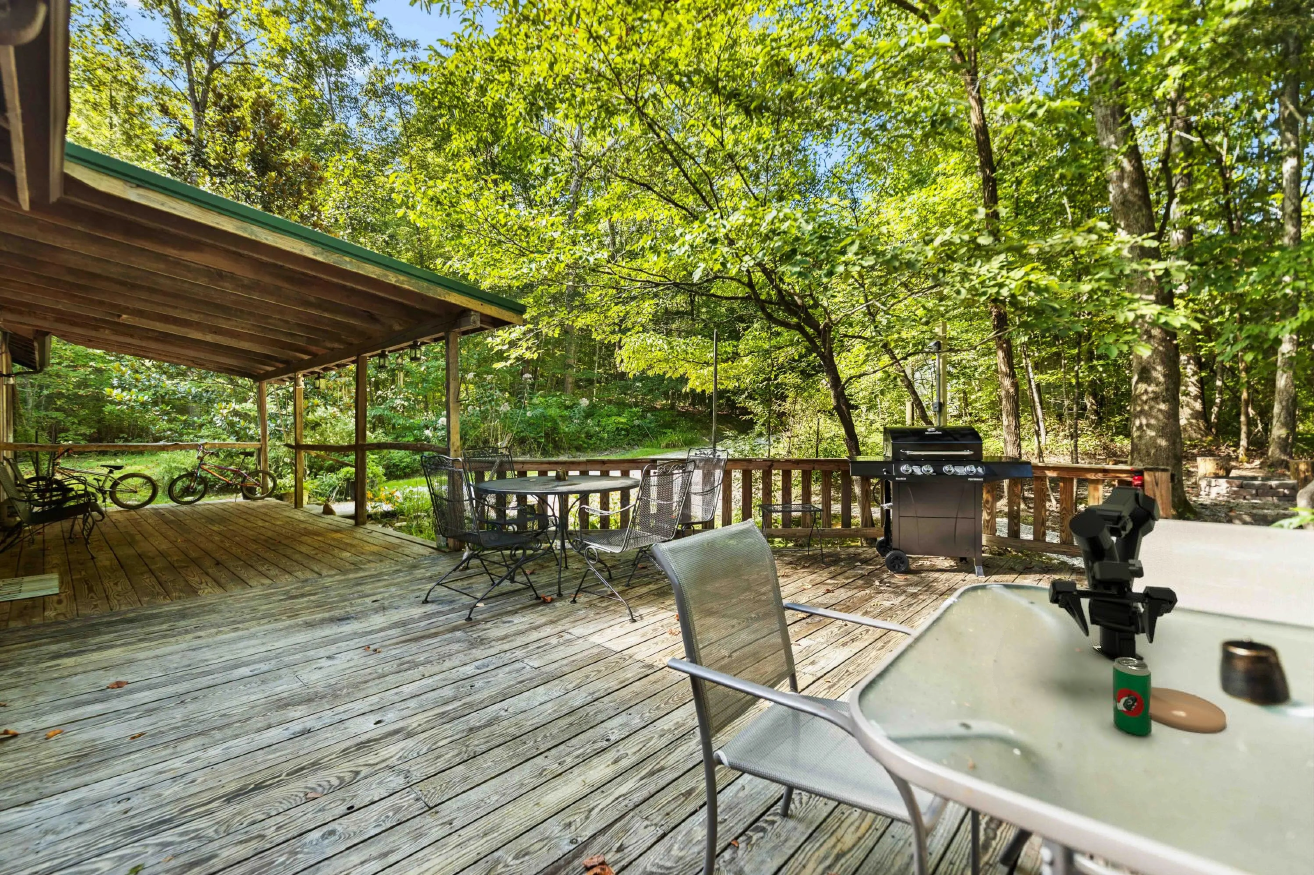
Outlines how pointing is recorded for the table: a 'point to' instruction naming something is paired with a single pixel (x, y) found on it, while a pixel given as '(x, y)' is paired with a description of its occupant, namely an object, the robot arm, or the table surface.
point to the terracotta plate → (1186, 711)
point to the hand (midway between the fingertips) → (1118, 638)
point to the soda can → (1132, 697)
